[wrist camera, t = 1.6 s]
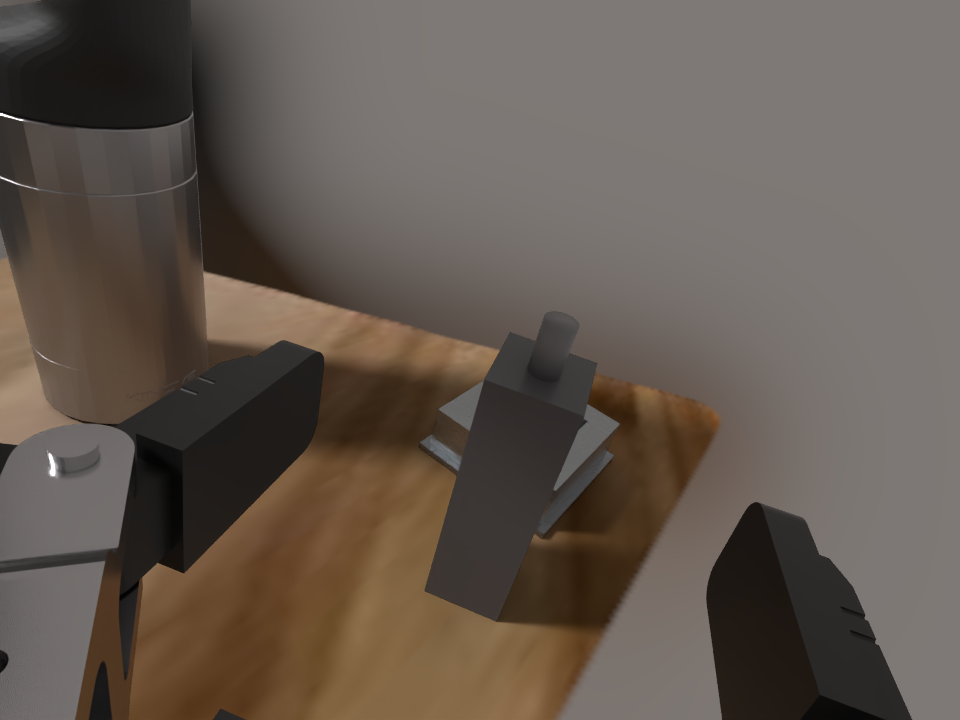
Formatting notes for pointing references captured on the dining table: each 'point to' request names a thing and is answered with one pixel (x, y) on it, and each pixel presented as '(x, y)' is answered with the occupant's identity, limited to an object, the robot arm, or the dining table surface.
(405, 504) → the dining table surface
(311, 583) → the dining table surface
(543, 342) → the plug
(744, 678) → the robot arm
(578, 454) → the socket
